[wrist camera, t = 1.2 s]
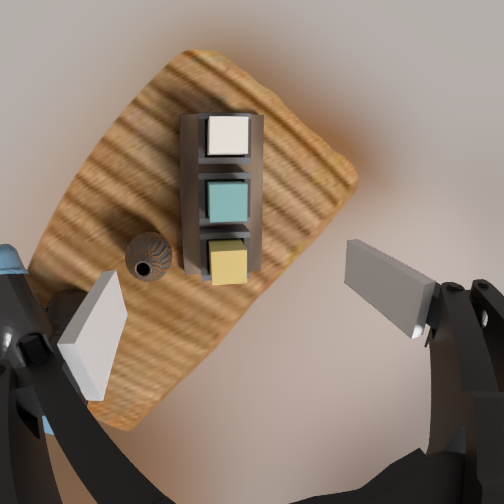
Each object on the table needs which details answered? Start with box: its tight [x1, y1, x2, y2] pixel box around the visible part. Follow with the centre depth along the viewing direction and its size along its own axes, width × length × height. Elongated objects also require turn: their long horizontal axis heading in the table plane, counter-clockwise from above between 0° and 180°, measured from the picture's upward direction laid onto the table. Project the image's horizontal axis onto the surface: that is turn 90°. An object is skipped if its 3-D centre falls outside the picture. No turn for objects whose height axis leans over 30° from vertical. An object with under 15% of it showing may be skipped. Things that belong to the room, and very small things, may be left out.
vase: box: [125, 232, 172, 282], centre depth 37 cm, size 7×7×9 cm
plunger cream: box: [207, 116, 248, 155], centre depth 32 cm, size 4×4×5 cm
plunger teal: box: [208, 181, 248, 222], centre depth 34 cm, size 4×4×5 cm
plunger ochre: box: [209, 239, 247, 285], centre depth 37 cm, size 4×4×5 cm
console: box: [180, 113, 264, 281], centre depth 38 cm, size 12×24×6 cm, turn 179°
